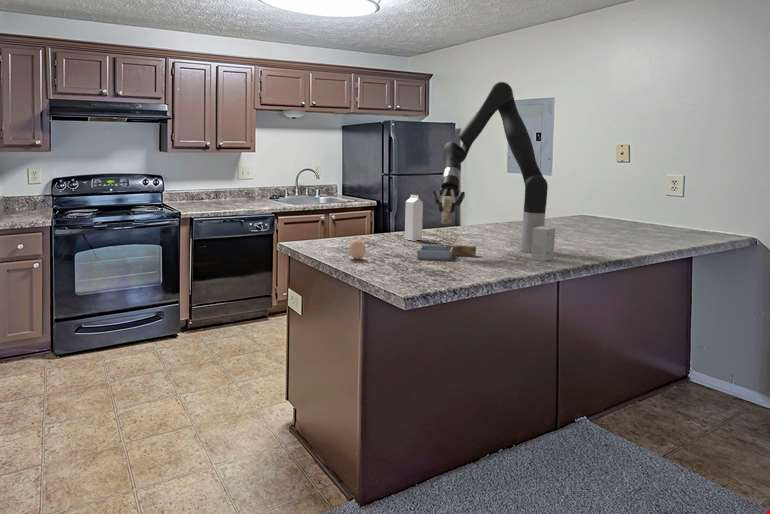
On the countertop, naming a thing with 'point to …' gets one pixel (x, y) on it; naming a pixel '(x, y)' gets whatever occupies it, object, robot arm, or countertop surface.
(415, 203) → the milk
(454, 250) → the block
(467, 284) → the countertop surface
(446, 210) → the dowel
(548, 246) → the small box
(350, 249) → the egg
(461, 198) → the robot arm
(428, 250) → the tray
